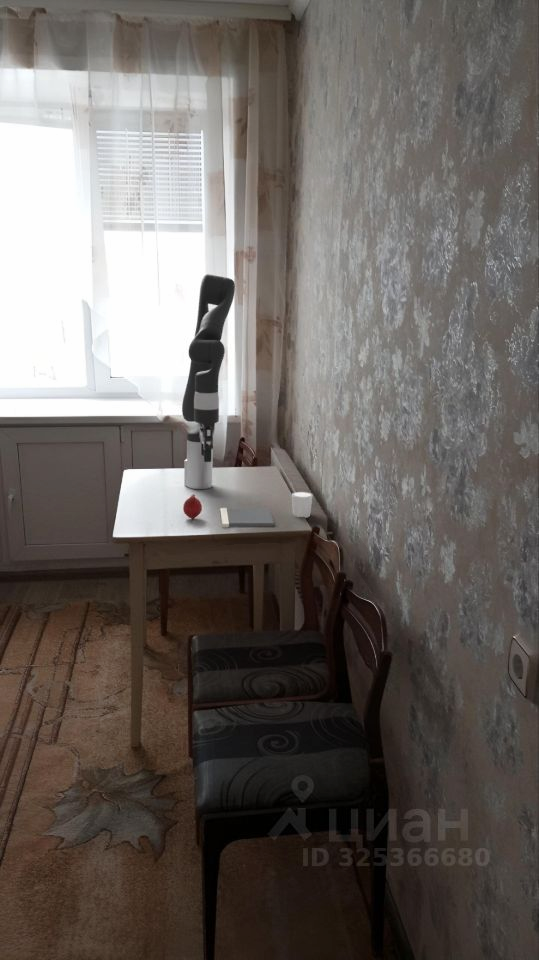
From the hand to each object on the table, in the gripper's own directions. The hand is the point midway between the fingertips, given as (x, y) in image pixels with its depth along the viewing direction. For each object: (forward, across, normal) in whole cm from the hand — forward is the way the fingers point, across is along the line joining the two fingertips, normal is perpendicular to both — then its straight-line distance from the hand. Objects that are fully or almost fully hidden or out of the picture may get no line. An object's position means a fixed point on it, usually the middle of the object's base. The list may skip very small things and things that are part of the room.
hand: (206, 458), depth 231 cm
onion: (+20, 0, +4) cm, 20 cm away
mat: (+20, -2, -13) cm, 23 cm away
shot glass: (+20, +1, -31) cm, 37 cm away
